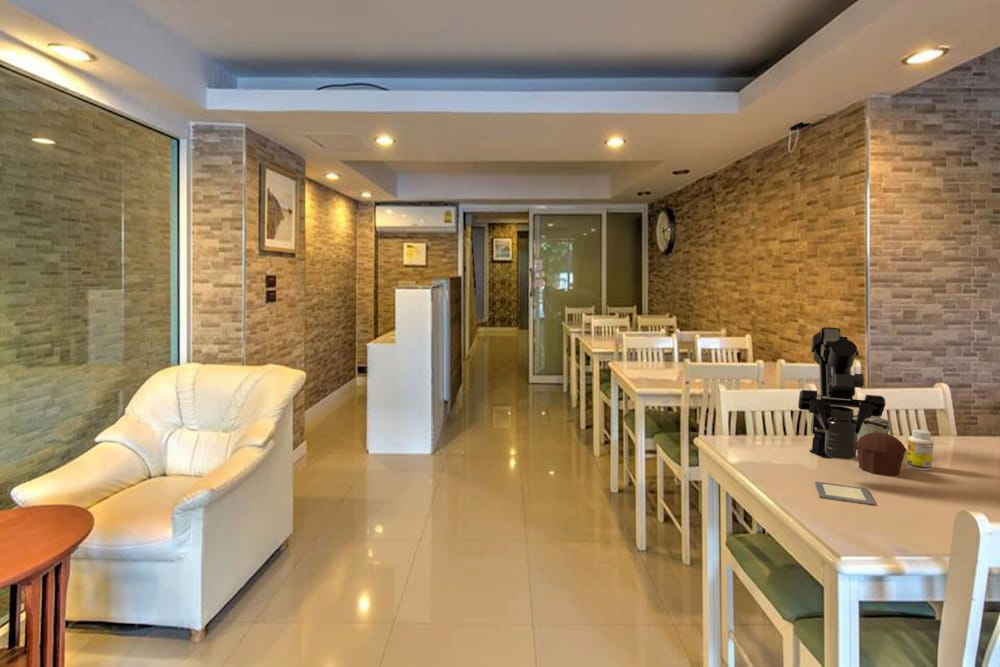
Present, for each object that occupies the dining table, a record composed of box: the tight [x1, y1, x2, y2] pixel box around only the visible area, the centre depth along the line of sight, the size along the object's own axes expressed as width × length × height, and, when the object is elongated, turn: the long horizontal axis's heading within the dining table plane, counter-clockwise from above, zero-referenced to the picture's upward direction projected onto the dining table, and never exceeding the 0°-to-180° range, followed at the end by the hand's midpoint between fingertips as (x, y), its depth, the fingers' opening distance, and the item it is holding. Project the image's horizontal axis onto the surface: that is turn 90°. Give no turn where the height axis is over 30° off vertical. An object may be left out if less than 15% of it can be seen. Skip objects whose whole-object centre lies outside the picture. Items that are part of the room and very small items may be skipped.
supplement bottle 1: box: [825, 407, 857, 460], centre depth 145 cm, size 7×7×12 cm
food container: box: [852, 414, 893, 450], centre depth 173 cm, size 12×6×10 cm, turn 34°
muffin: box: [856, 432, 908, 477], centre depth 154 cm, size 12×11×10 cm
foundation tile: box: [814, 481, 876, 506], centre depth 137 cm, size 11×11×1 cm
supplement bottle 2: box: [906, 428, 935, 471], centre depth 157 cm, size 6×6×10 cm
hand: (841, 431), depth 143 cm, fingers closed on supplement bottle 1, 7 cm apart
